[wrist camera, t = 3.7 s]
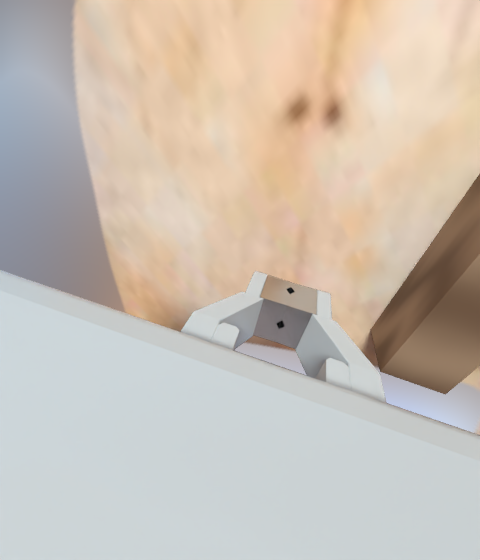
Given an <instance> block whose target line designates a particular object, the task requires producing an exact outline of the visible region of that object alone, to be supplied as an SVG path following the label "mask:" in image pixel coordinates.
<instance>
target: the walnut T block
mask: <svg viewBox="0 0 480 560" xmlns="http://www.w3.org/2000/svg"><path fill="white" fill-rule="evenodd" d="M371 333H372V337H373V342H374V346H375V351H376V355H377V360H378V364H379V369H380V372H383V373H386V374H389V375H392V376H394V377H397V378H400V379H403V380H406V381H409V382H412V383H414V384H417V385H420V386H423V387H426V388H429V389H432V390H435V391H437V392H440V393H443V394H446V393H448V392H449V391H450V390H451V389H452V388H454V387H455V386H456V385H457V384H458V383H460V382H461V381H462V380H463V379H464V378H466V377H467V376H468V375H469V374H470V373H472V372H473V371H474V370H475V369H476V368H478V367H479V366H480V174H479V176H478V177H477V179H476V180H475V181H474V183H473V184H472V186H471V187H470V189H469V190H468V191H467V193H466V194H465V196H464V197H463V199H462V200H461V201H460V203H459V204H458V206H457V207H456V209H455V210H454V211H453V213H452V214H451V216H450V217H449V219H448V220H447V221H446V223H445V224H444V226H443V227H442V229H441V230H440V231H439V233H438V234H437V236H436V237H435V239H434V240H433V242H432V243H431V244H430V246H429V247H428V249H427V250H426V252H425V253H424V254H423V256H422V257H421V259H420V260H419V262H418V263H417V264H416V266H415V267H414V269H413V270H412V272H411V273H410V274H409V276H408V277H407V279H406V280H405V282H404V283H403V284H402V286H401V287H400V289H399V290H398V292H397V293H396V294H395V296H394V297H393V299H392V300H391V302H390V303H389V304H388V306H387V307H386V309H385V310H384V312H383V313H382V314H381V316H380V317H379V319H378V320H377V322H376V323H375V324H374V326H373V327H372V329H371Z"/></svg>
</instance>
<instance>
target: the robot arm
mask: <svg viewBox="0 0 480 560" xmlns="http://www.w3.org/2000/svg"><path fill="white" fill-rule="evenodd" d="M253 335H255V336H258V337H261V338H264V339H268V340H271V341H274V342H277V343H280V344H283V345H285V346H288V347H291V348H294V349H296V353H297V355H298V357H299V359H300V361H301V363H302V366H303V368H304V370H305V372H306V374H307V375H304V374H301V373H298V372H295V371H292V370H289V369H286V368H283V367H280V366H277V365H274V364H272V363H269V362H266V361H263V360H260V359H257V358H254V357H251V356H248V355H245V354H242V353H239V352H237V351H234V350H235V349H236V348H237V347H238V346H240V345H241V344H242V343H244V342H245V341H247V340H248V339H249V338H251V337H252V336H253ZM0 560H480V435H478V434H475V433H472V432H469V431H466V430H463V429H460V428H458V427H455V426H452V425H449V424H446V423H443V422H440V421H437V420H434V419H431V418H428V417H425V416H423V415H419V414H417V413H414V412H411V411H408V410H405V409H402V408H399V407H396V406H394V405H390V404H388V403H386V398H385V394H384V389H383V385H382V381H381V376H380V373H379V372H378V371H377V369H376V368H375V367H374V366H373V365H372V364H371V362H370V361H369V360H368V359H367V358H366V356H365V355H364V354H363V353H362V352H361V350H360V349H359V348H358V347H357V346H356V345H355V343H354V342H353V341H352V340H351V339H350V337H349V336H348V335H347V334H346V333H345V331H344V330H343V329H342V328H341V327H340V325H339V324H338V323H337V322H336V321H334V320H332V309H331V294H330V293H328V292H325V291H321V290H317V289H313V288H309V287H306V286H302V285H299V284H295V283H292V282H289V281H286V280H283V279H280V278H277V277H274V276H271V275H267V274H265V273H261V272H258V271H255V272H254V274H253V276H252V278H251V281H250V283H249V285H248V288H247V290H246V292H245V293H244V292H240V293H238V294H235V295H233V296H230V297H228V298H225V299H223V300H220V301H218V302H216V303H213V304H211V305H208V306H206V307H203V308H201V309H199V310H196V311H194V312H193V313H192V315H191V316H190V318H189V319H188V321H187V322H186V324H185V325H184V327H183V328H182V330H181V331H180V332H179V331H176V330H173V329H170V328H167V327H164V326H161V325H158V324H156V323H153V322H150V321H147V320H144V319H141V318H138V317H135V316H132V315H129V314H127V313H124V312H121V311H118V310H115V309H112V308H109V307H106V306H103V305H100V304H97V303H95V302H92V301H89V300H86V299H83V298H80V297H77V296H74V295H71V294H69V293H66V292H63V291H60V290H57V289H54V288H51V287H48V286H45V285H42V284H40V283H37V282H34V281H31V280H28V279H25V278H22V277H19V276H16V275H13V274H11V273H7V272H5V271H1V270H0Z"/></svg>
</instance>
